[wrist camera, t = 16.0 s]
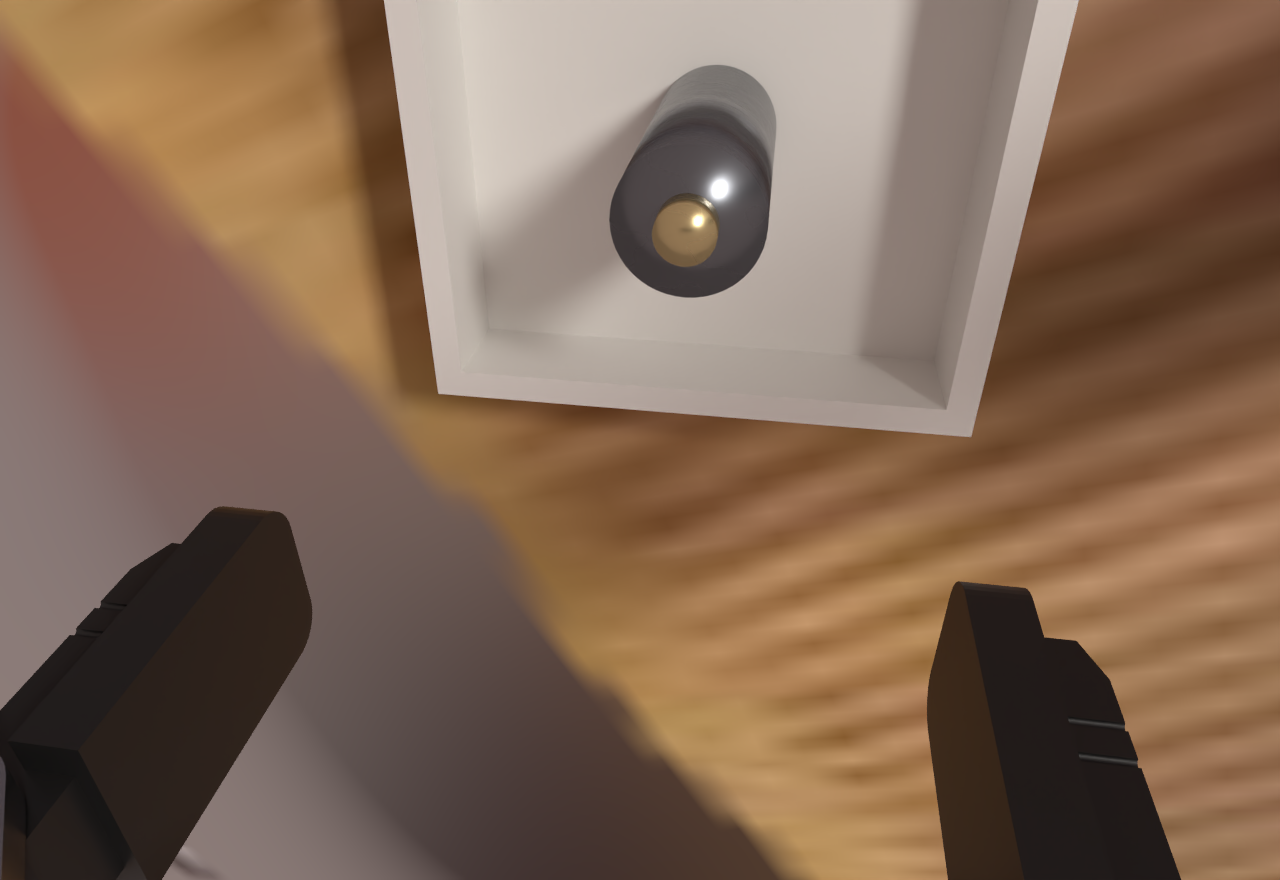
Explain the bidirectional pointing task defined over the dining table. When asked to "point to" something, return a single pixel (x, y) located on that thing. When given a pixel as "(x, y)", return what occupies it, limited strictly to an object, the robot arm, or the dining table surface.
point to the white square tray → (799, 206)
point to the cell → (698, 185)
